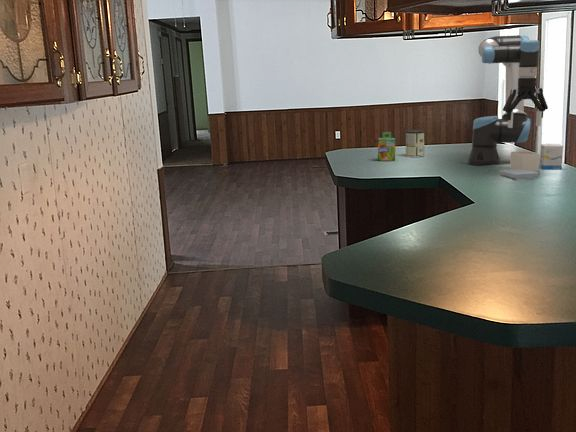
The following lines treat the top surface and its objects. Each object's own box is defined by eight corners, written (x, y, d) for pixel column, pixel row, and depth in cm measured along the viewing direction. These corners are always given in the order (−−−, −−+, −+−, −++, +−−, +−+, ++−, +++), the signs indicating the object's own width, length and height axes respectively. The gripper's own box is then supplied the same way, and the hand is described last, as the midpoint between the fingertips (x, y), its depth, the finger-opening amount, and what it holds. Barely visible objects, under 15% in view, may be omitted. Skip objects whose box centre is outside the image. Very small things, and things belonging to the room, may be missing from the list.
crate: (509, 171, 290) (511, 151, 288) (525, 170, 292) (526, 150, 290) (522, 174, 281) (523, 154, 279) (538, 173, 282) (539, 153, 280)
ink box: (561, 171, 287) (563, 145, 285) (542, 170, 289) (544, 145, 286) (557, 168, 296) (559, 143, 293) (538, 168, 297) (540, 143, 295)
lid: (499, 176, 277) (499, 170, 277) (523, 175, 280) (523, 168, 279) (514, 181, 266) (514, 174, 265) (539, 179, 268) (539, 173, 268)
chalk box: (377, 161, 331) (378, 133, 328) (377, 158, 340) (377, 131, 337) (395, 161, 330) (395, 133, 326) (394, 158, 339) (395, 131, 335)
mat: (501, 176, 277) (501, 174, 276) (523, 175, 279) (523, 173, 279) (513, 180, 267) (513, 178, 267) (536, 178, 269) (537, 176, 269)
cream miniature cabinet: (409, 154, 354) (409, 129, 351) (426, 155, 349) (427, 129, 346) (402, 156, 346) (402, 131, 343) (420, 157, 340) (420, 131, 337)
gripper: (505, 78, 264) (502, 129, 269) (558, 76, 268) (554, 126, 274) (496, 78, 271) (493, 127, 276) (548, 75, 275) (544, 124, 281)
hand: (524, 126), depth 275 cm, fingers open, 13 cm apart
